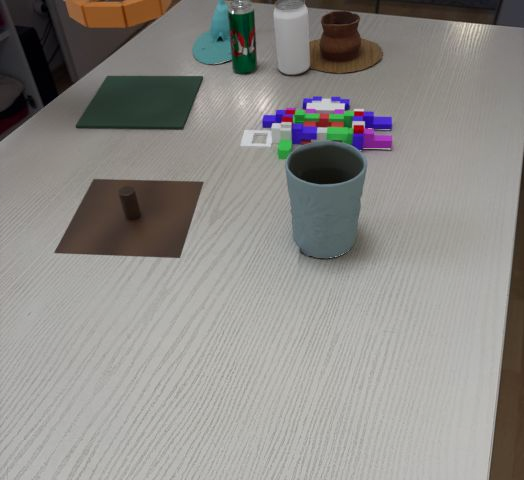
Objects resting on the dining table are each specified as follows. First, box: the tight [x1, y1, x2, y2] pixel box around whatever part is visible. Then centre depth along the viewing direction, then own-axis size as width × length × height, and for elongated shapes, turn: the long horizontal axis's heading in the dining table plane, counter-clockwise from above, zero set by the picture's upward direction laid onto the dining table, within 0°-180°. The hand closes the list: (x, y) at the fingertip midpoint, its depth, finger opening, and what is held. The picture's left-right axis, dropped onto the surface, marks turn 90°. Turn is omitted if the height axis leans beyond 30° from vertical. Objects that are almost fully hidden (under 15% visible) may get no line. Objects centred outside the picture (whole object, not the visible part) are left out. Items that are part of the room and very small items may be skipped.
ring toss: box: [54, 178, 205, 259], centre depth 79 cm, size 18×18×5 cm
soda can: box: [228, 0, 258, 75], centre depth 106 cm, size 5×5×12 cm
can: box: [273, 0, 310, 76], centre depth 105 cm, size 6×6×12 cm
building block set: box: [239, 95, 393, 160], centre depth 92 cm, size 25×20×4 cm
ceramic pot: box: [308, 10, 384, 75], centre depth 111 cm, size 18×18×7 cm
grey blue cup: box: [284, 141, 368, 258], centre depth 71 cm, size 10×10×12 cm
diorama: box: [191, 0, 232, 65], centre depth 116 cm, size 12×20×9 cm, turn 173°
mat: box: [74, 75, 204, 130], centre depth 104 cm, size 20×20×1 cm
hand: (78, 0), depth 90 cm, fingers closed
